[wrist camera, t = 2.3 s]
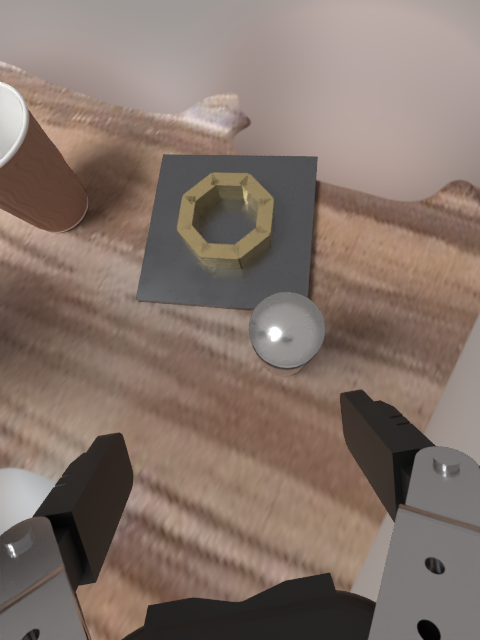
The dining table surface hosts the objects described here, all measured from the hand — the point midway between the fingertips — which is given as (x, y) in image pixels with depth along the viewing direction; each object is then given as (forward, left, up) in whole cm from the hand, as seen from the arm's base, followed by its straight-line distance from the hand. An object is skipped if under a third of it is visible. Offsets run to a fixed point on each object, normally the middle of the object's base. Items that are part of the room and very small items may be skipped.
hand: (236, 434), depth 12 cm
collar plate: (-5, +19, -20) cm, 28 cm away
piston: (+2, +6, -20) cm, 21 cm away
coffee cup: (-26, +21, -20) cm, 39 cm away
